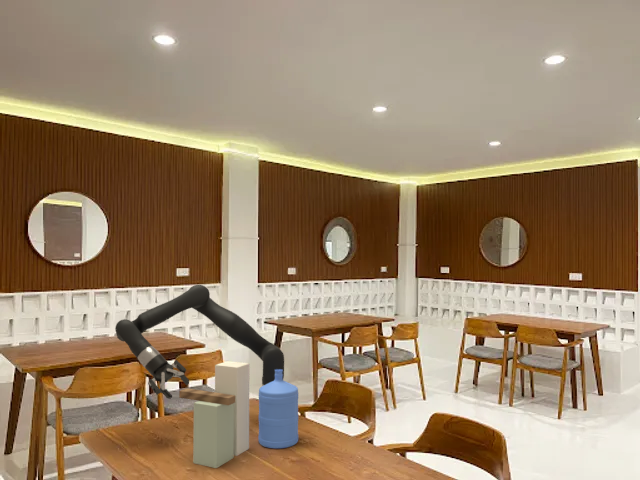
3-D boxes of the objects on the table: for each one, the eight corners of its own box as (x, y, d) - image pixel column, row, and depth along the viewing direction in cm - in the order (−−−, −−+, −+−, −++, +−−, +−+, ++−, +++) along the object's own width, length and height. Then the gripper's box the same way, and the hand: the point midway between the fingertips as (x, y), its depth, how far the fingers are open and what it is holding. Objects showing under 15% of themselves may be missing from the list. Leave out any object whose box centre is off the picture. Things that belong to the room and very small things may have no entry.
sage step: (193, 463, 180) (193, 402, 180) (211, 453, 189) (211, 395, 189) (216, 468, 175) (216, 406, 176) (233, 457, 184) (233, 399, 185)
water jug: (292, 450, 191) (292, 375, 192) (252, 447, 194) (253, 373, 195) (302, 436, 206) (302, 366, 207) (265, 433, 210) (265, 365, 210)
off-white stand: (214, 451, 191) (215, 365, 191) (227, 444, 198) (227, 361, 199) (236, 455, 186) (237, 367, 187) (249, 448, 193) (249, 363, 194)
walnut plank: (179, 397, 187) (179, 390, 187) (186, 395, 191) (186, 388, 191) (228, 405, 177) (228, 398, 177) (235, 402, 181) (235, 395, 181)
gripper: (139, 366, 192) (167, 398, 189) (168, 345, 202) (196, 375, 199) (135, 375, 197) (163, 406, 194) (164, 354, 207) (191, 383, 204)
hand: (179, 390), depth 196 cm, fingers open, 8 cm apart
